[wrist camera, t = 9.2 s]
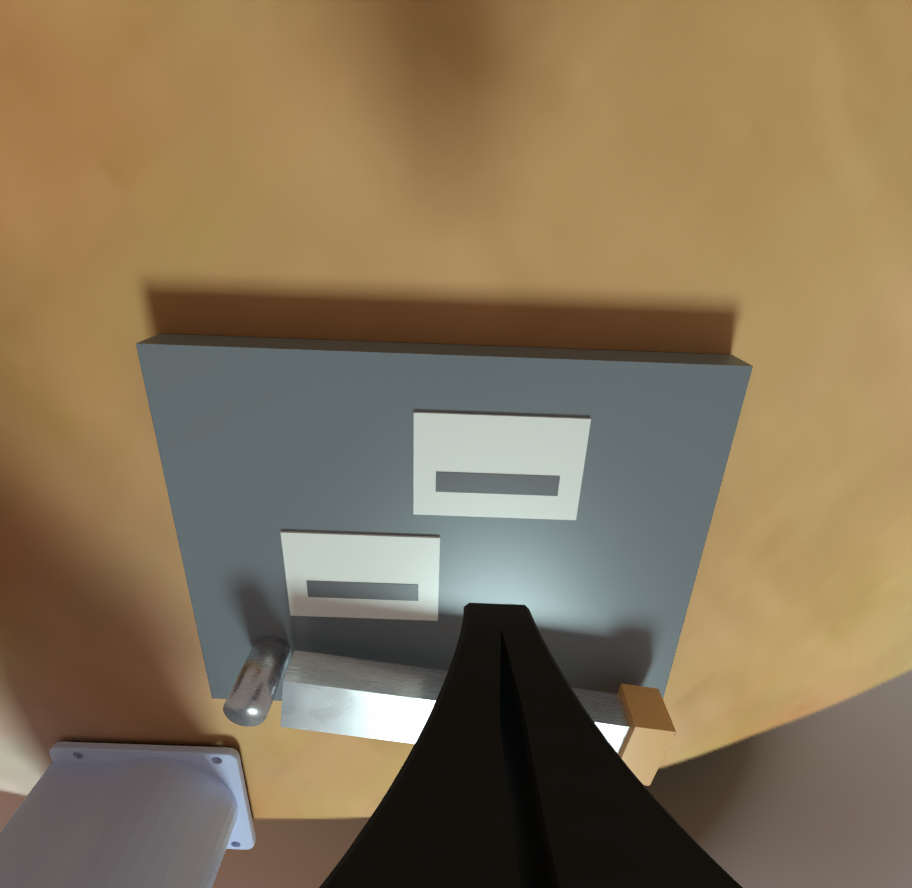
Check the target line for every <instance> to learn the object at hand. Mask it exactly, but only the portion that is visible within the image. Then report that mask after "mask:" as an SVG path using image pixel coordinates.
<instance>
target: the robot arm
mask: <svg viewBox="0 0 912 888" xmlns="http://www.w3.org/2000/svg"><path fill="white" fill-rule="evenodd" d="M49 755H50V757H51V760H52V763H51V765H50V766H49V767H48V769H47V770H46V771H45V773H44V774H43V775H42V777H41V778H40V779H39V781H38V782H37V783H36V785H35V786H34V787H33V789H32V790H31V791H30V793H29V794H28V796H27V797H26V798H25V800H24V801H23V802H22V804H21V805H20V806H19V808H18V809H17V810H16V812H15V813H14V814H13V816H12V817H11V818H10V820H9V821H8V822H7V824H6V825H5V827H4V828H3V829H2V830H1V832H0V888H212V885H213V882H214V880H215V877H216V874H217V872H218V869H219V866H220V864H221V861H222V858H223V856H224V853H225V850H226V849H250V848H252V847H253V846H254V843H255V840H256V836H255V831H254V826H253V821H252V816H251V811H250V806H249V801H248V796H247V791H246V786H245V780H244V775H243V770H242V765H241V760H240V755H239V753H238V751H237V750H236V749H233V748H229V747H203V746H174V745H146V744H117V743H88V742H56V743H54V745H53V746H52V747H51V749H50V750H49ZM319 888H742V887H741V886H740V885H739V884H738V883H737V882H736V881H735V880H734V879H733V878H732V877H731V876H730V875H729V874H727V872H726V871H724V870H723V869H722V868H721V867H720V866H719V865H718V864H717V863H716V862H715V861H714V860H713V859H712V858H711V857H710V856H709V855H708V854H707V853H706V852H705V851H704V850H703V849H702V848H701V847H700V846H699V845H698V844H697V843H696V842H695V841H694V840H693V839H692V838H691V836H690V835H689V834H688V833H687V832H686V831H685V830H684V829H683V828H682V827H681V826H680V825H679V824H678V823H677V822H676V820H675V819H674V818H673V817H672V816H671V815H670V814H669V813H668V812H667V811H666V810H665V809H664V808H663V806H662V805H661V804H660V803H659V802H658V801H657V800H656V799H655V798H654V797H653V796H652V795H651V793H650V792H649V791H648V790H647V789H646V788H645V786H644V785H643V784H642V783H641V782H640V780H639V779H638V778H637V777H636V776H635V774H634V773H633V772H632V771H631V770H630V768H629V767H628V766H627V765H626V763H625V762H624V761H623V760H622V758H621V757H620V756H619V755H618V753H617V752H616V751H615V750H614V748H613V747H612V746H611V744H610V743H609V742H608V740H607V739H606V738H605V736H604V735H603V734H602V732H601V731H600V730H599V728H598V727H597V725H596V724H595V723H594V721H593V720H592V718H591V717H590V715H589V714H588V712H587V711H586V709H585V708H584V707H583V705H582V704H581V702H580V701H579V699H578V697H577V696H576V694H575V693H574V691H573V690H572V688H571V686H570V685H569V683H568V682H567V680H566V678H565V677H564V675H563V673H562V672H561V670H560V668H559V667H558V665H557V663H556V662H555V660H554V658H553V656H552V655H551V653H550V651H549V649H548V647H547V645H546V643H545V642H544V640H543V638H542V636H541V634H540V632H539V630H538V628H537V626H536V624H535V621H534V619H533V617H532V615H531V612H530V610H529V608H528V607H527V606H526V605H517V604H490V603H468V604H467V605H466V606H464V612H463V622H462V627H461V632H460V636H459V639H458V643H457V646H456V650H455V653H454V656H453V659H452V661H451V664H450V667H449V670H448V673H447V675H446V678H445V681H444V683H443V686H442V688H441V690H440V692H439V695H438V697H437V699H436V702H435V704H434V706H433V708H432V711H431V713H430V715H429V717H428V719H427V721H426V723H425V725H424V727H423V729H422V731H421V733H420V735H419V737H418V739H417V741H416V743H415V745H414V747H413V748H412V750H411V752H410V754H409V756H408V758H407V759H406V761H405V763H404V765H403V766H402V768H401V770H400V771H399V773H398V775H397V776H396V778H395V780H394V782H393V783H392V785H391V787H390V788H389V790H388V791H387V793H386V795H385V796H384V798H383V799H382V801H381V803H380V804H379V806H378V807H377V809H376V810H375V812H374V813H373V814H372V816H371V817H370V819H369V820H368V822H367V823H366V825H365V826H364V828H363V829H362V831H361V832H360V833H359V835H358V836H357V838H356V839H355V841H354V842H353V844H352V845H351V846H350V848H349V849H348V851H347V852H346V854H345V855H344V856H343V858H342V859H341V860H340V862H339V863H338V865H337V866H336V867H335V868H334V870H333V871H332V872H331V873H330V875H329V876H328V877H327V878H326V880H325V881H324V882H323V883H322V885H321V886H320V887H319Z"/></svg>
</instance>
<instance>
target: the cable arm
mask: <svg viewBox="0 0 912 888" xmlns="http://www.w3.org/2000/svg"><path fill="white" fill-rule="evenodd" d="M447 673H448V671H445V670H438V669H430V668H423V667H416V666H408V665H401V664H394V663H387V662H379V661H372V660H365V659H357V658H350V657H343V656H335V655H328V654H321V653H314V652H306V651H299V650H295V651H294V653H293V656H292V659H291V661H290V664H289V666H288V669H287V672H286V674H285V677H284V680H283V691H282V711H281V727H287V728H295V729H303V730H311V731H319V732H326V733H334V734H342V735H350V736H358V737H365V738H373V739H381V740H389V741H396V742H404V743H412V744H415V743H416V741H417V739H418V737H419V735H420V733H421V731H422V729H423V727H424V725H425V723H426V721H427V719H428V717H429V715H430V713H431V711H432V708H433V706H434V704H435V702H436V699H437V697H438V695H439V692H440V690H441V688H442V686H443V683H444V681H445V678H446V675H447ZM572 690H573V691H574V693H575V694H576V696H577V697H578V699H579V701H580V702H581V704H582V705H583V707H584V708H585V709H586V711H587V712H588V714H589V715H590V717H591V718H592V720H593V721H594V723H595V724H596V725H597V727H598V728H599V730H600V731H601V732H602V734H603V735H604V736H605V738H606V739H607V740H608V742H609V743H610V744H611V746H612V747H613V748H614V750H615V751H616V752H617V753H618V755H619V756H620V757H621V758H622V760H623V761H624V762H625V763H626V765H627V766H628V767H629V768H630V770H631V771H632V772H633V773H634V774H635V776H636V777H637V778H638V779H639V780H640V782H641V783H642V784H643V785H648V786H649V785H650V784H651V781H652V779H653V778H654V776H655V773H656V771H657V770H658V768H659V766H660V764H661V762H662V760H663V757H664V755H665V753H666V751H667V749H668V747H669V745H670V743H671V741H672V739H673V737H674V735H675V733H676V731H675V728H674V726H673V723H672V721H671V718H670V716H669V714H668V711H667V709H666V706H665V704H664V701H663V699H662V696H661V694H660V692H659V689H658V688H650V687H643V686H636V685H629V684H621V685H620V687H619V690H618V692H617V694H613V693H606V692H598V691H591V690H584V689H576V688H572Z"/></svg>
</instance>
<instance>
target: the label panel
mask: <svg viewBox="0 0 912 888" xmlns="http://www.w3.org/2000/svg"><path fill="white" fill-rule="evenodd" d="M136 346H137V351H138V356H139V360H140V365H141V370H142V374H143V379H144V384H145V388H146V393H147V398H148V402H149V407H150V412H151V416H152V421H153V425H154V430H155V435H156V439H157V444H158V449H159V453H160V458H161V463H162V467H163V472H164V477H165V481H166V486H167V491H168V495H169V500H170V505H171V509H172V514H173V519H174V523H175V528H176V532H177V537H178V542H179V546H180V551H181V556H182V560H183V565H184V570H185V574H186V579H187V584H188V588H189V593H190V598H191V602H192V607H193V612H194V616H195V621H196V625H197V630H198V635H199V639H200V644H201V649H202V653H203V658H204V663H205V667H206V672H207V677H208V681H209V686H210V691H211V695H212V698H221V699H227V700H226V702H225V704H224V708H223V709H224V713H225V715H226V717H227V718H228V719H229V720H230V721H232V722H234V723H236V724H238V725H241V726H256V725H259V724H261V723H262V722H263V721H264V720H265V719H266V717H267V714H268V712H269V709H270V706H271V704H272V701H273V700H278V701H282V691H283V680H284V677H285V674H286V672H287V669H288V666H289V664H290V661H291V659H292V656H293V653H294V651H295V650H299V651H306V652H314V653H321V654H328V655H335V656H343V657H350V658H357V659H365V660H372V661H379V662H387V663H394V664H401V665H408V666H416V667H423V668H430V669H438V670H445V671H448V670H449V667H450V664H451V661H452V659H453V656H454V653H455V650H456V646H457V643H458V639H459V636H460V632H461V627H462V622H463V612H464V606H466V605H467V604H468V603H490V604H517V605H526V606H527V607H528V608H529V610H530V612H531V615H532V617H533V619H534V621H535V624H536V626H537V628H538V630H539V632H540V634H541V636H542V638H543V640H544V642H545V643H546V645H547V647H548V649H549V651H550V653H551V655H552V656H553V658H554V660H555V662H556V663H557V665H558V667H559V668H560V670H561V672H562V673H563V675H564V677H565V678H566V680H567V682H568V683H569V685H570V686H571V688H576V689H584V690H591V691H598V692H606V693H613V694H617V692H618V690H619V687H620V685H621V684H629V685H636V686H643V687H650V688H658V689H659V692H660V694H661V696H662V699H663V697H664V693H665V689H666V686H667V682H668V678H669V674H670V671H671V667H672V663H673V660H674V656H675V652H676V649H677V645H678V641H679V637H680V634H681V630H682V626H683V623H684V619H685V615H686V612H687V608H688V604H689V600H690V597H691V593H692V589H693V586H694V582H695V578H696V575H697V571H698V567H699V563H700V560H701V556H702V552H703V549H704V545H705V541H706V538H707V534H708V530H709V526H710V523H711V519H712V515H713V512H714V508H715V504H716V500H717V497H718V493H719V489H720V486H721V482H722V478H723V475H724V471H725V467H726V463H727V460H728V456H729V452H730V449H731V445H732V441H733V438H734V434H735V430H736V426H737V423H738V419H739V415H740V412H741V408H742V404H743V401H744V397H745V393H746V389H747V386H748V382H749V378H750V375H751V371H752V367H753V366H752V365H750V364H748V363H746V362H744V361H742V360H740V359H739V358H737V357H735V356H733V355H729V354H702V353H675V352H647V351H620V350H593V349H566V348H538V347H511V346H484V345H457V344H429V343H402V342H375V341H347V340H320V339H293V338H266V337H238V336H211V335H184V334H158V335H156V336H153V337H151V338H148V339H146V340H143V341H141V342H138V343H136Z"/></svg>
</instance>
